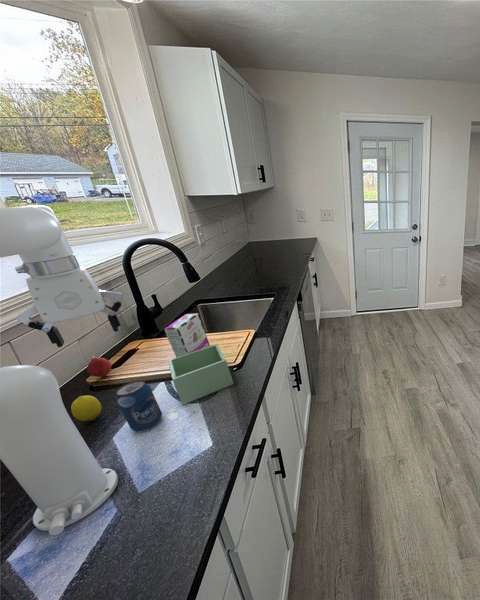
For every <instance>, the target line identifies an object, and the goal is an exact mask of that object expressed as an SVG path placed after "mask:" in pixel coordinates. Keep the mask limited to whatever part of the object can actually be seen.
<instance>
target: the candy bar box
mask: <svg viewBox="0 0 480 600" xmlns="http://www.w3.org/2000/svg"><path fill="white" fill-rule="evenodd" d="M163 330H164V333H165V336H166V337H167V339H168V342H169V344H170V347H171V349H172V351H173V354H174V356H175V358H176V357H179V356H182V355H185V354H188V353H191V352H194V351H197V350H200V349H203V348H206V347H209V346H211V344H210V342H209V339H208V336H207V334H206V331H205V329H204V326H203V323H202V320H201V317H200V315H199V313H197V312H196V313H186V314H184V315H182V316H181V317H179V318H178V319H176V320H175V321H173V322H172V323H170V324H169V325H168V326H166V327H164V329H163Z"/></svg>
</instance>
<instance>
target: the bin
mask: <svg viewBox="0 0 480 600" xmlns="http://www.w3.org/2000/svg"><path fill="white" fill-rule="evenodd" d="M167 360H168V366H169V369H170V374H171V375H170V376H171V379H172V382H173V384H174V387H175V390H176V392H177V394H178V396H179V399H180V401H181V403H182V405H183V406H184V405H187V404H188V403H191V402H193V401H196V400H198V399H201V398H203V397H206V396H208V395H211V394H213V393H215V392H218V391H220V390H223V389H226V388H227V387H230V386H233V385H234V384H235V383H234V381H233V378H232V375H231V371H230V368H229V365H228V362H227V359H226V357H225V356H224V354H223V351H222V350H221V349H220V346H219V344H218V343H215V344H212V345H210V346H209V347H206V348H203V349H200V350H197V351H194V352H191V353H188V354H185V355H182V356H179V357H176V356H175V357H172V358H169V359H167Z"/></svg>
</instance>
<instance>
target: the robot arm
mask: <svg viewBox="0 0 480 600" xmlns="http://www.w3.org/2000/svg"><path fill="white" fill-rule="evenodd" d="M62 228H63V227H62V226H61V224H60V222H59V220H58V218H57V216H56V213H55V212H54V211H53V210H52V208H50V207H49V206H46V205H42V204H41V205H37V204H36V205H24V206H23V205H22V206H9V207H0V258H6V257H10V256H11V257H12V256H16V255H18V256H19V258H20V260H21V262H22V265H19V266H15V267H14V270H15V271H16V273H17V274H26V275H28V277H27V278H25V279H26V280H25V281H26V285H27V289H28V291H29V294H30V297H31V299H32V302H33V304H34V305H32V306H30V307H29V308H27V309H26V310H24V311H23V312H22V313H21V312H20V314H18V315H17V317H16V318H15V319H16V321H18V322H20V323H22V324H23V325H25V326H28V328H29V329H30V328H31V329H33V330H38V331H41V332H42V333H45V334H46V335H47V337H48V339H49V341H50V342H51V344H52V345H56V346H57V348H62V347H63V346H64V344H65V339H64V338H63V336H62V334H61V333H60V330H59V328H58V327H57V326H54V324H55V323H61V322H65V321H69V320H73V319H77V318H80V317H84V316H89V315H93V314H97V313H100V312H101V313H104V314H106V315H107V319H108V321H109V324H110V326H111V328H112V330H113V332H116V333H117V332H119V327H122V326H121V325H122V324H121V322H120V320H119V317H118V315H117V313H118V311H119V310H120V308H121V307H122V304H123V299H124V293H123V292H119V291H112V290H111V291H110V290H104V289H100V288H99V286H98V284H97V282H96V281H95V280H94V278H93V277H92V275H91V274H90V273H89V271H88V270H87V269H86V267H84V266H80V264H79V261H78V259H77V258H76V255H75V254H74V252H73V251H74V250H73V249H72V247H71V245H70V243H69V240H68V239H67V236H66V235H65V233H64V230H63V229H62ZM105 298H110V299H115V300H114V302H113V304H112V306H111V305H109V304H106V300H105ZM37 313H38V315H39V316H40V318H41V319H42V321H40V320H35V319H34V318H32V316H33V315H35V314H37ZM0 461H1V462H2V463H3V464H4V466H5V467H6V468H7V469H8V471H9V472H10V473H11V474H12V475H13V477H14V479H15V480H16V481H17V482H18V483H19V485H20V486H21V488H22V489H23V490H24V491H25V493H26V494H27V495H28V496H29V498H30V499H31V500H32V501H33V503H34V505H35V506H36V507H37V508H36V510H35V512H34V513H33V516H32V523H33V525H34V526H35V528H37V529H38V530H39V531H43V532H44V531H45V532H48V535H49V536H58V535H60V534H61V533H63V532H64V530H65V527H68V526H71V525H72V524H75V523H77V522H78V521H81V520H82V519H84V518H85V517H87V516H89V515H90V514H91V513H93V512H94V511H96V510H97V509H98V508H99V507H100V506H101V505H103V504H104V503H105V502H106V501H107V499H109V498H110V497H111V495H112V494H113V492H114V491H115V489H116V488H117V487H118V483H119V476H118V474H117V472H116V470H115V469H111V468H107V467H106V468H102V467H101V466H100V464H99V462H98V461H97V459H96V458H95V456H94V454H93V453H92V451H91V449H90V448H89V446H88V444H87V443H86V441H85V440H84V437H82V434H81V432H79V429H78V428H77V426H76V425H75V423H74V421H73V420H72V418H71V417H70V415H69V413H68V411H67V409H66V407H65V404H64V402H63V399H62V395H61V391H60V386H59V383H58V380H57V378H56V376H55V375H54V373H53V372H52V371H50V370H49V369H47V368H45V367H41V366H37V365H31V364H23V365H21V364H19V365H7V366H1V367H0Z"/></svg>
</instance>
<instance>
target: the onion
mask: <svg viewBox="0 0 480 600" xmlns="http://www.w3.org/2000/svg"><path fill="white" fill-rule="evenodd" d="M111 369H112V363H111V362H110V360H108V359H106V358H104V357H97V355H93V356H92V357H91V360H90V361H89V362H88V364H87V367H86V370H87V373H88V374H90V376H92V377H97V378H104V377H106V376H107V375H108V374H109V372H110V371H111ZM107 373H108V374H107Z"/></svg>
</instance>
